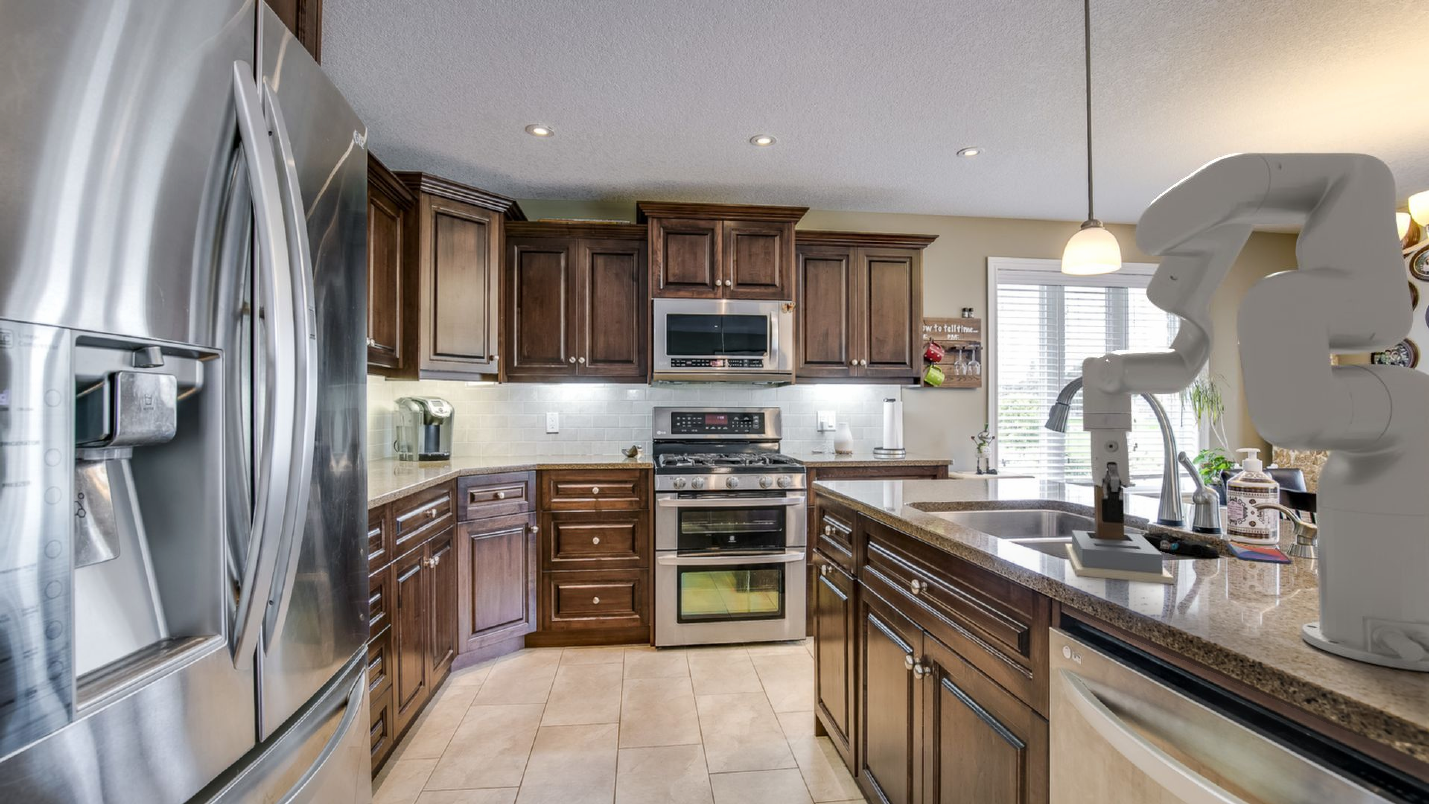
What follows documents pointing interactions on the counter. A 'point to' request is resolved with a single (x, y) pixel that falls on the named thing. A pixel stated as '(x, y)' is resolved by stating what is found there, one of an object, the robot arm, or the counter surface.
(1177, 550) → the toy car
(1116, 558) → the bore block
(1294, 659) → the counter surface
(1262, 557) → the smartphone
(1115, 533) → the block
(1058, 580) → the counter surface
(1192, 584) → the counter surface
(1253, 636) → the counter surface
